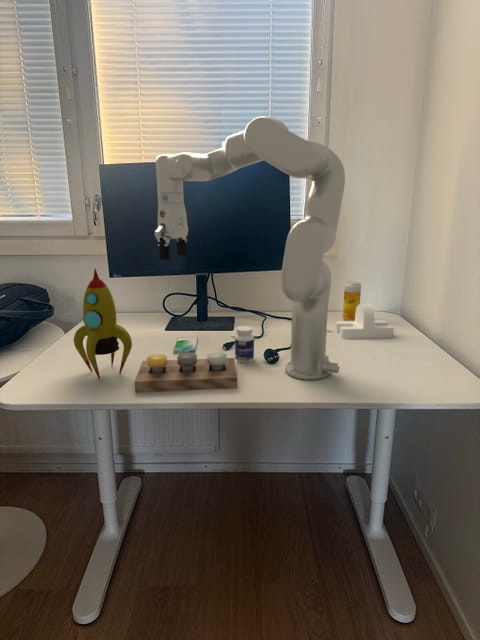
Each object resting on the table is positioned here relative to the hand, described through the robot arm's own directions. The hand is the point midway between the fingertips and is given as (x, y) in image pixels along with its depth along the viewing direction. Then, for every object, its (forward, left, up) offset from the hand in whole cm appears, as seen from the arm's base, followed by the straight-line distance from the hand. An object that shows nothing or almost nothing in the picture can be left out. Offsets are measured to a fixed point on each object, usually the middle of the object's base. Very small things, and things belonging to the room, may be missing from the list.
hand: (173, 257), depth 135 cm
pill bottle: (-24, -2, -30) cm, 38 cm away
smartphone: (-1, -3, -30) cm, 30 cm away
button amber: (-11, +23, -28) cm, 38 cm away
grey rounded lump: (-18, +18, -28) cm, 38 cm away
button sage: (-24, +14, -28) cm, 39 cm away
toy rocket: (+5, +26, -30) cm, 40 cm away
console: (-18, +18, -30) cm, 39 cm away
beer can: (-39, -58, -30) cm, 76 cm away
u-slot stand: (-48, -44, -30) cm, 71 cm away
